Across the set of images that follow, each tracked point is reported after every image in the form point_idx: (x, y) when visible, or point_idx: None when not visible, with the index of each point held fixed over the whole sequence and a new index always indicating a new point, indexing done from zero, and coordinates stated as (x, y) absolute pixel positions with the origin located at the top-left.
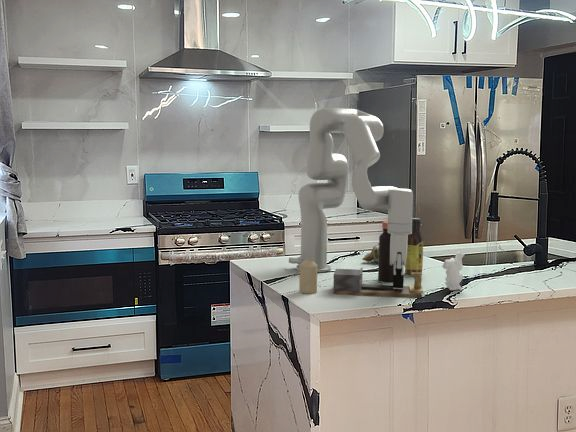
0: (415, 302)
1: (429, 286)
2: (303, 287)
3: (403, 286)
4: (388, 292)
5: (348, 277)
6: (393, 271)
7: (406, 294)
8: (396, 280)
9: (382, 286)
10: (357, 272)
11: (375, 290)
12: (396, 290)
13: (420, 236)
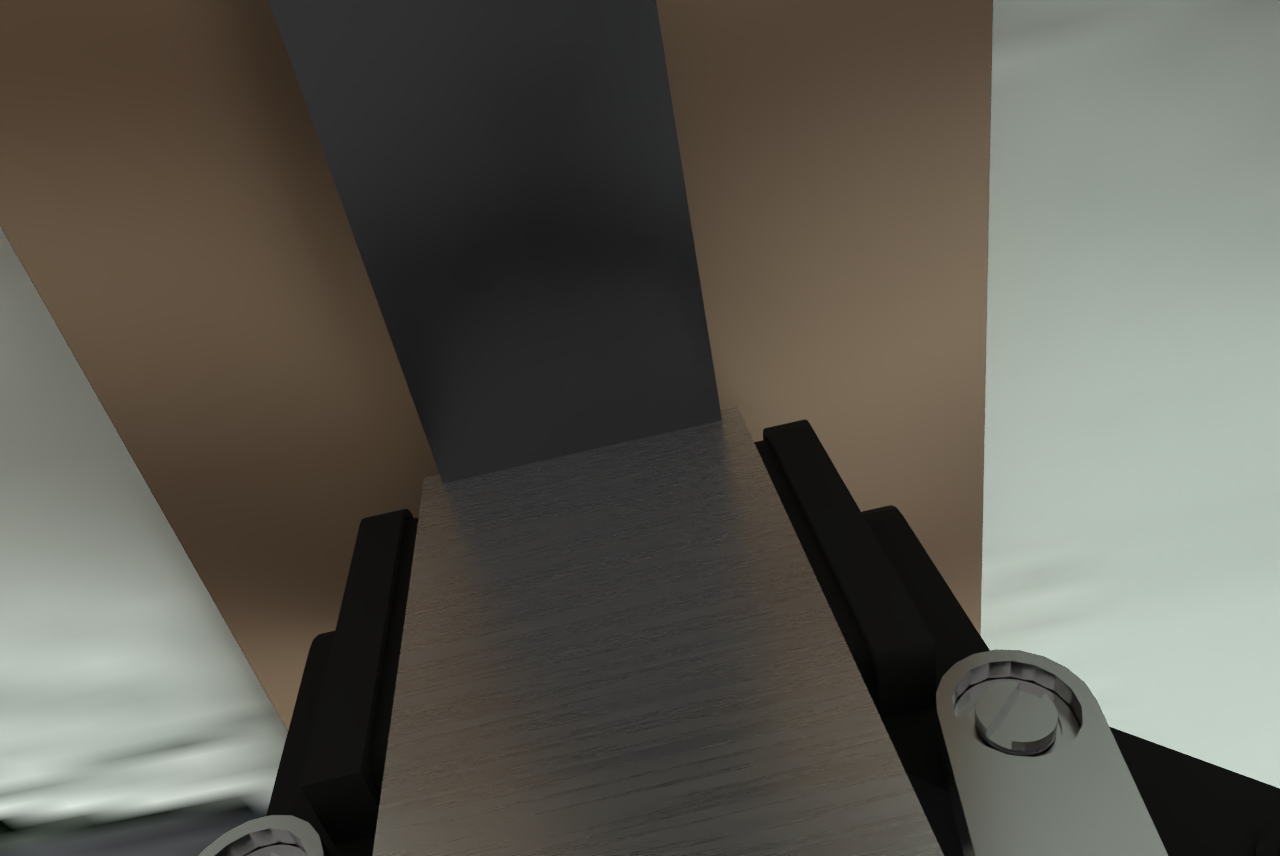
0: (12, 845)
1: (1203, 758)
2: None
3: (929, 537)
4: (186, 400)
5: None
6: (822, 703)
7: (281, 711)
8: (296, 742)
9: (483, 195)
10: None
11: (205, 11)
12: None
13: None
